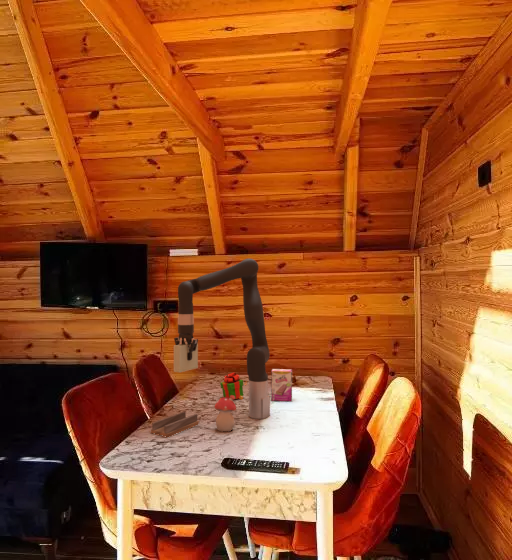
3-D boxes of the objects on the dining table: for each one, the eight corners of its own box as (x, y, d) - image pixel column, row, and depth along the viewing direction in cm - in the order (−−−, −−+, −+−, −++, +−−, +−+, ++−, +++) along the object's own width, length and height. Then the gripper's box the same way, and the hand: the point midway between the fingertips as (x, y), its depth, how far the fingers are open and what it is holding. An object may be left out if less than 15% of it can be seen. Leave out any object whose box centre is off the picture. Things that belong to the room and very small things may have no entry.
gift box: (211, 401, 228) (208, 376, 228) (238, 392, 241) (234, 367, 240) (234, 407, 213) (230, 380, 213) (260, 396, 226) (257, 370, 225)
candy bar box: (271, 401, 222) (271, 370, 222) (271, 398, 227) (271, 368, 227) (292, 401, 221) (291, 371, 221) (292, 399, 226) (292, 369, 226)
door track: (198, 424, 186) (198, 414, 186) (167, 437, 170) (167, 426, 170) (182, 420, 191) (182, 410, 191) (150, 433, 176) (150, 422, 176)
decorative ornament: (238, 428, 180) (238, 394, 180) (231, 433, 174) (231, 398, 174) (219, 425, 184) (219, 392, 184) (212, 430, 178) (212, 395, 178)
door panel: (197, 368, 200) (197, 343, 200) (179, 372, 190) (179, 346, 190) (191, 367, 202) (191, 342, 202) (173, 371, 192) (173, 345, 192)
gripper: (202, 323, 195) (202, 360, 195) (180, 322, 203) (180, 357, 203) (191, 325, 189) (191, 362, 189) (169, 323, 197) (169, 359, 197)
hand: (185, 359), depth 196 cm, fingers closed on door panel, 4 cm apart
